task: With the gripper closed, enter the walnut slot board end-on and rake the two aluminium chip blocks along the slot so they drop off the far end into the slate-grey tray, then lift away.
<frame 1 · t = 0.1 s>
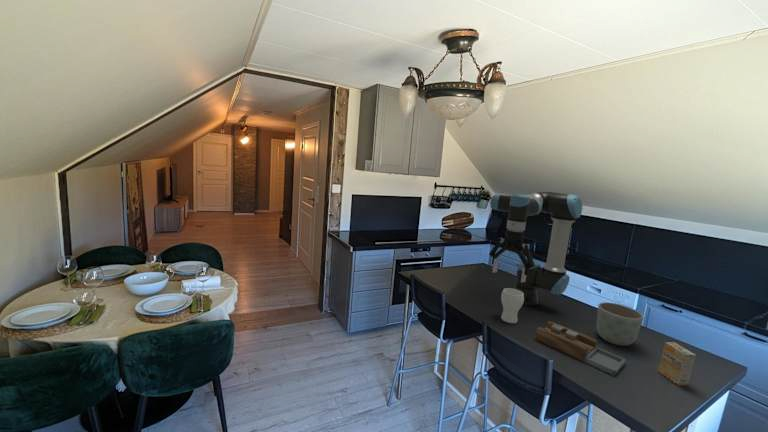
hand: (508, 276, 145), 28 cm above the kitchen island, fingers open, 13 cm apart
supplement box: (672, 379, 126), on the kitchen island
slot board: (564, 345, 144), on the kitchen island
tray: (604, 363, 133), on the kitchen island
chip rear: (556, 335, 147), point 3 cm above the kitchen island, touching slot board
chip front: (570, 341, 142), point 3 cm above the kitchen island, touching slot board
cup: (509, 320, 165), on the kitchen island
planter: (613, 340, 152), on the kitchen island
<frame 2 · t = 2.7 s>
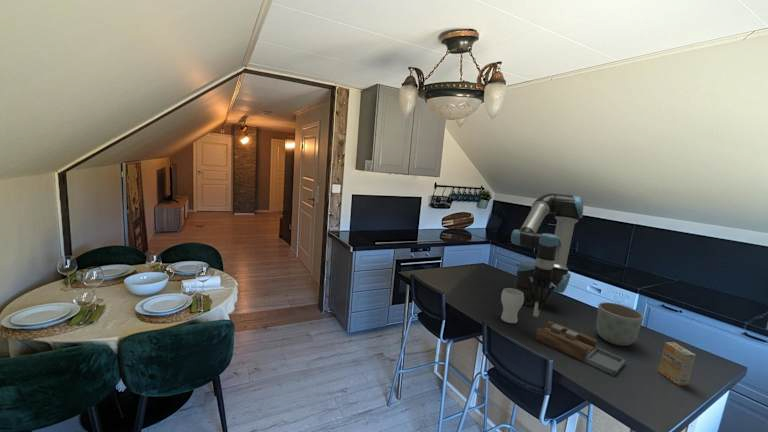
hand: (535, 315, 153), 8 cm above the kitchen island, fingers closed
nothing on the kitchen island moved.
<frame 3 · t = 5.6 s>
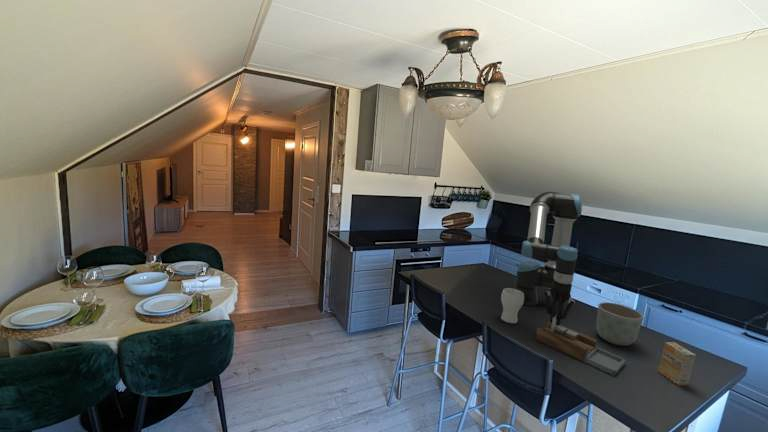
hand: (553, 330, 147), 5 cm above the kitchen island, fingers closed
chip rear: (559, 336, 146), point 3 cm above the kitchen island, touching gripper
everything else where it was.
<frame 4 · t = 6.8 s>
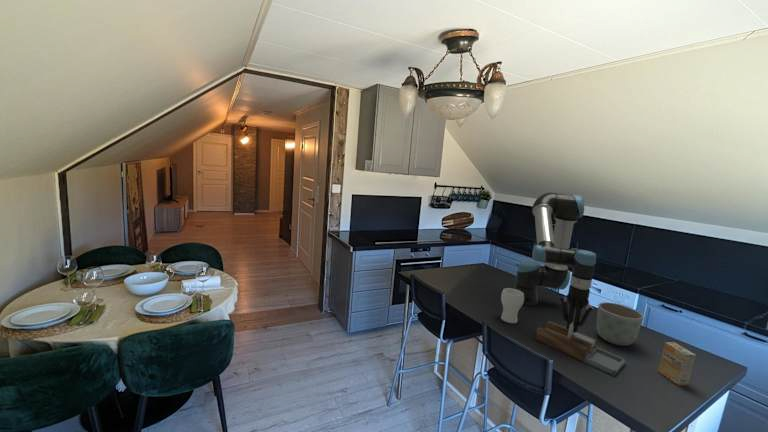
hand: (570, 337, 142), 5 cm above the kitchen island, fingers closed
chip rear: (576, 343, 141), point 3 cm above the kitchen island, touching chip front, gripper
chip front: (586, 348, 138), point 3 cm above the kitchen island, touching chip rear, slot board
everything else where it was.
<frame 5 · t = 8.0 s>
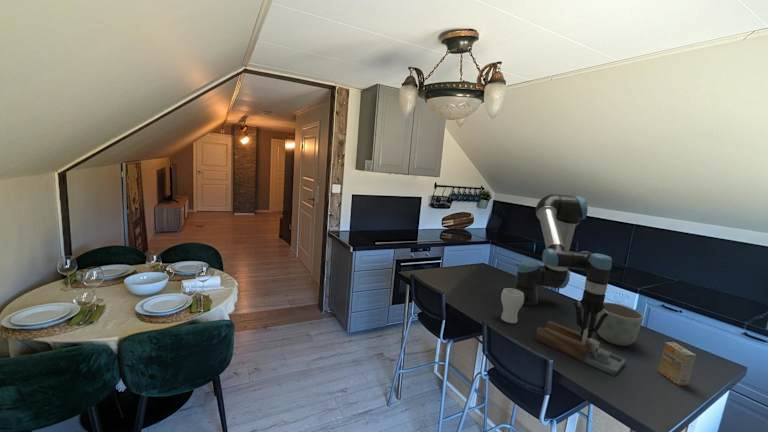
hand: (584, 343, 138), 5 cm above the kitchen island, fingers closed
chip rear: (590, 350, 136), point 3 cm above the kitchen island, touching gripper
chip front: (597, 353, 135), point 3 cm above the kitchen island, tilted 90°, touching tray
everything else where it was.
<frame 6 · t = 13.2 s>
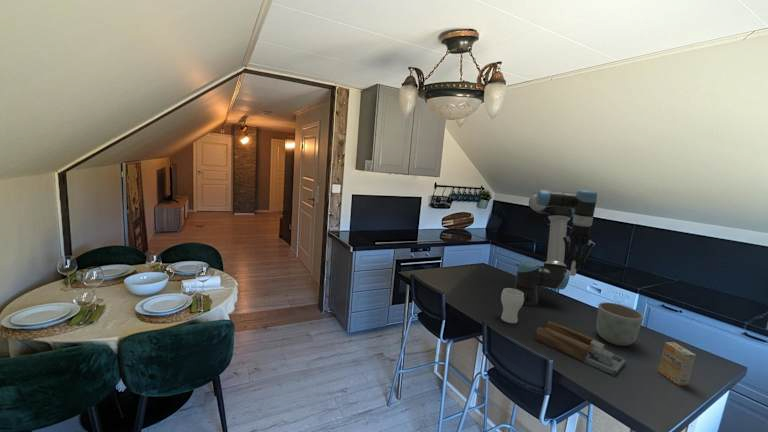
hand: (572, 275, 150), 29 cm above the kitchen island, fingers closed
chip rear: (595, 351, 135), point 3 cm above the kitchen island, touching chip front, slot board
chip front: (600, 354, 134), point 3 cm above the kitchen island, tilted 94°, touching chip rear, tray
everything else where it was.
at the end: chip front inside the target area on the tray (1.9 cm from its centre), point 2.8 cm above the tray's base; chip rear inside the target area on the tray (3.9 cm from its centre), point 2.9 cm above the tray's base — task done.
